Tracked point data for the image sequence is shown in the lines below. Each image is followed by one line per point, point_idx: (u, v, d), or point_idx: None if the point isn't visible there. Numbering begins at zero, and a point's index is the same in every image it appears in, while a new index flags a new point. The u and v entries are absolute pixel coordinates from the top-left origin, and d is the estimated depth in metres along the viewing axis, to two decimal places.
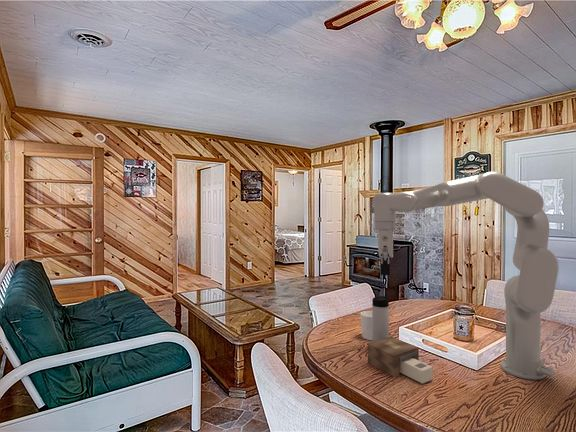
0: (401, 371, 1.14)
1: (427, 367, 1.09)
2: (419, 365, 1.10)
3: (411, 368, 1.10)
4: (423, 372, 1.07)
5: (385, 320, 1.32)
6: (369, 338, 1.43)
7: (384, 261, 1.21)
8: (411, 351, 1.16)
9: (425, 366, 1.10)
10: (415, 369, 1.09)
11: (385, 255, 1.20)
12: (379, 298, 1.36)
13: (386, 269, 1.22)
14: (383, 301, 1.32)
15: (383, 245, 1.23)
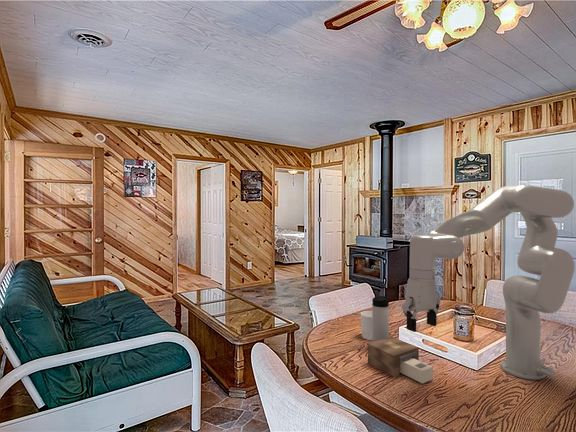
0: (401, 371, 1.14)
1: (427, 367, 1.09)
2: (419, 365, 1.10)
3: (411, 368, 1.10)
4: (423, 372, 1.07)
5: (385, 320, 1.32)
6: (369, 338, 1.43)
7: None
8: (411, 351, 1.16)
9: (425, 366, 1.10)
10: (415, 369, 1.09)
11: None
12: (379, 298, 1.36)
13: None
14: (383, 301, 1.32)
15: None
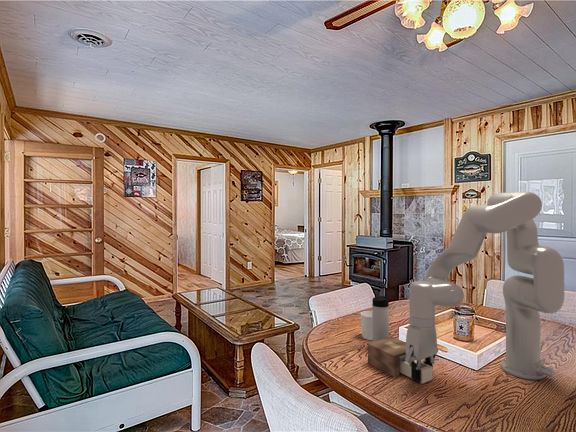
0: (401, 371, 1.14)
1: (427, 367, 1.09)
2: None
3: None
4: (423, 372, 1.07)
5: (385, 320, 1.32)
6: (369, 338, 1.43)
7: None
8: None
9: (425, 366, 1.10)
10: None
11: None
12: (379, 298, 1.36)
13: None
14: (383, 301, 1.32)
15: None
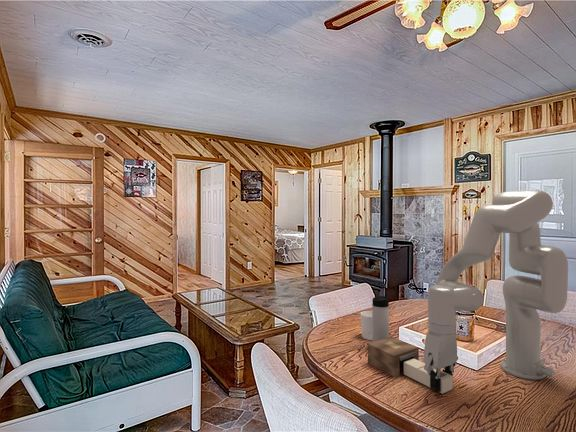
0: (419, 380, 1.08)
1: (447, 376, 1.03)
2: None
3: None
4: (443, 382, 1.01)
5: (385, 320, 1.32)
6: (369, 338, 1.43)
7: None
8: (411, 351, 1.16)
9: (445, 375, 1.04)
10: None
11: None
12: (379, 298, 1.36)
13: None
14: (383, 301, 1.32)
15: None
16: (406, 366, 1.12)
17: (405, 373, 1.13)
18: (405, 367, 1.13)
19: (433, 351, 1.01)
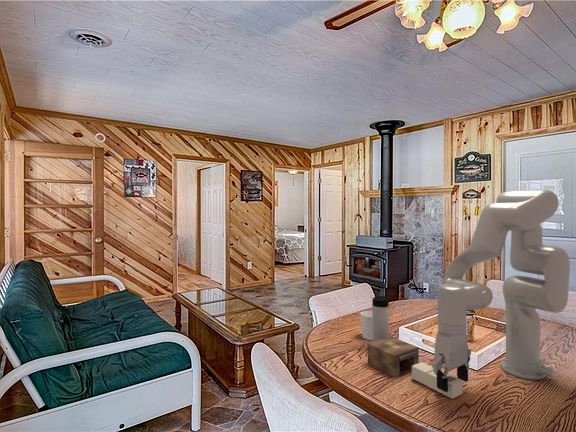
0: (427, 384, 1.05)
1: (457, 381, 1.01)
2: None
3: None
4: (453, 387, 0.99)
5: (385, 320, 1.32)
6: (369, 338, 1.43)
7: None
8: (411, 351, 1.16)
9: (454, 379, 1.01)
10: None
11: None
12: (379, 298, 1.36)
13: None
14: (383, 301, 1.32)
15: None
16: (414, 370, 1.09)
17: (413, 377, 1.10)
18: (413, 371, 1.10)
19: (444, 352, 0.98)
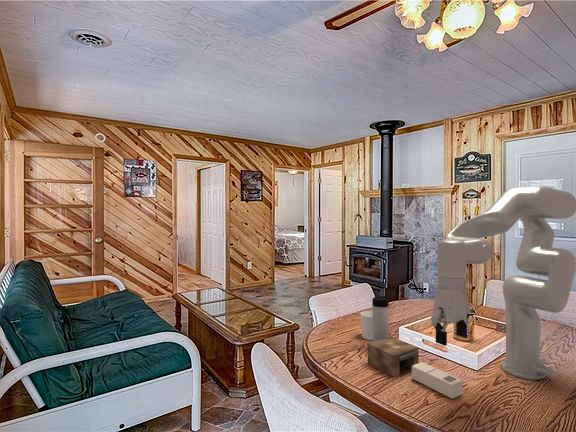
0: (427, 384, 1.05)
1: (457, 381, 1.01)
2: (447, 379, 1.02)
3: (439, 382, 1.02)
4: (453, 387, 0.99)
5: (385, 320, 1.32)
6: (369, 338, 1.43)
7: None
8: (411, 351, 1.16)
9: (454, 379, 1.01)
10: (444, 382, 1.01)
11: None
12: (379, 298, 1.36)
13: None
14: (383, 301, 1.32)
15: None
16: (414, 370, 1.09)
17: (413, 377, 1.10)
18: (413, 371, 1.10)
19: (443, 305, 0.97)
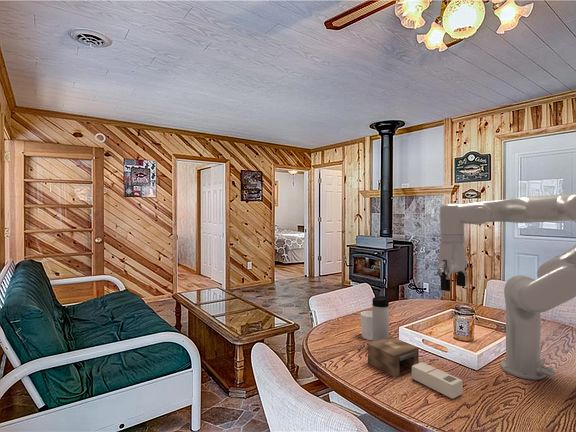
0: (427, 384, 1.05)
1: (457, 381, 1.01)
2: (447, 379, 1.02)
3: (439, 382, 1.02)
4: (453, 387, 0.99)
5: (385, 320, 1.32)
6: (369, 338, 1.43)
7: None
8: (411, 351, 1.16)
9: (454, 379, 1.01)
10: (444, 382, 1.01)
11: None
12: (379, 298, 1.36)
13: None
14: (383, 301, 1.32)
15: None
16: (414, 370, 1.09)
17: (413, 377, 1.10)
18: (413, 371, 1.10)
19: (447, 257, 1.17)
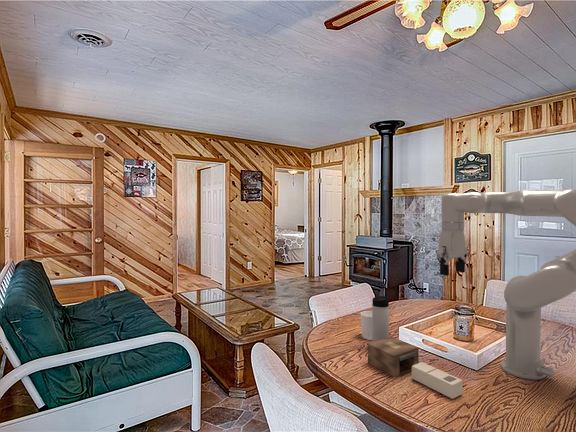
0: (427, 384, 1.05)
1: (457, 381, 1.01)
2: (447, 379, 1.02)
3: (439, 382, 1.02)
4: (453, 387, 0.99)
5: (385, 320, 1.32)
6: (369, 338, 1.43)
7: None
8: (411, 351, 1.16)
9: (454, 379, 1.01)
10: (444, 382, 1.01)
11: None
12: (379, 298, 1.36)
13: None
14: (383, 301, 1.32)
15: None
16: (414, 370, 1.09)
17: (413, 377, 1.10)
18: (413, 371, 1.10)
19: (446, 244, 1.24)
